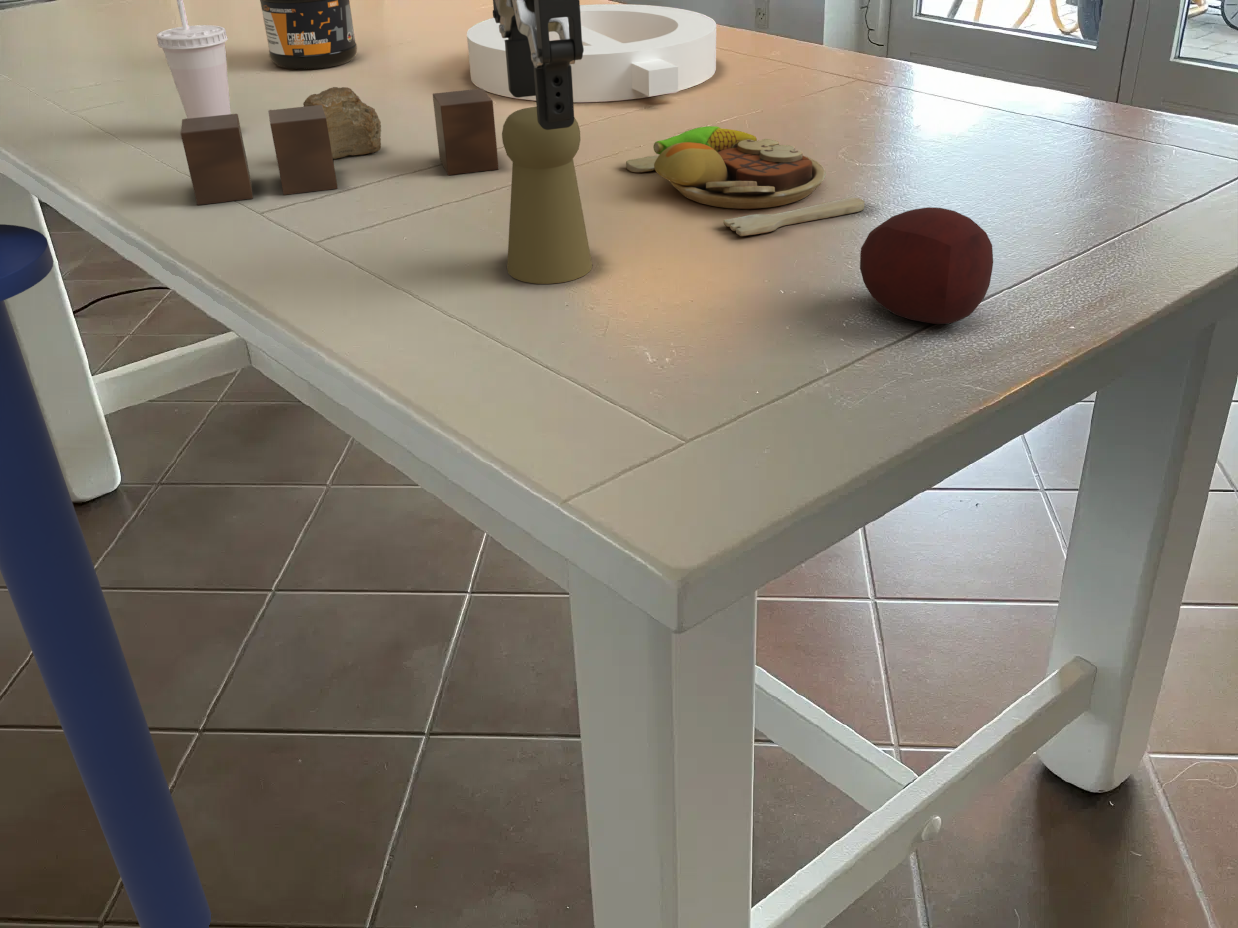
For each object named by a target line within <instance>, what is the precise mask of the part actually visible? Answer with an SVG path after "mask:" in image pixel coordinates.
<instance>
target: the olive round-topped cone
mask: <svg viewBox="0 0 1238 928" xmlns="http://www.w3.org/2000/svg"><path fill="white" fill-rule="evenodd" d="M501 141H502V145H503V148H504V150H505V153H506V156H507V157H508V158H509V159H510V161H511V162H512V164H511V165H512V166H511V167H512V168H511V170H512V171H511V185H510V186H511V187H510V202H509V203H510V204H509V207H510V208H509V223H508V224H509V225H508V226H509V227H508V241H507V242H508V244H507V246H508V247H507V260H506V262H507V265H506V270H507V273H508V275H509V276H511V277H512V278H513V279H515V280H519V281H521V282H524V283H529V284H536V285H537V284H539V285H541V284H543V285H553V284H560V283H567V282H570V281H575V280H577V279H579V278H582V277H584V276H586V275H587V274H588V273H590V272H591V270H592V267H593V261H592V256H591V250H590V245H589V239H588V233H587V227H586V222H585V218H584V212H583V211H584V210H583V206H582V201H581V200H582V199H581V195H580V194H581V193H580V190H579V184H578V178H577V173H576V166H575V162H574V158H575V156H576V155H577V154H578V151H579V149H580V145H581V129H580V125H579V122H578V120H577V119H576V117H575V116H574V123H573V124H572V125H571V126H570V127H567V128H559V129H551V130H545V129H543V128H542V127H541V126H540V125H539V123H538V120H537V106H529V107H525V108H524V107H523V108H521V109H518V110H515V111H513V112H511V113H510V114H509V115H508V116H507V117H506V119H505V121H504V123H503V126H502V132H501Z"/></svg>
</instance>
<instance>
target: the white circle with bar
mask: <svg viewBox="0 0 1238 928" xmlns="http://www.w3.org/2000/svg"><path fill="white" fill-rule="evenodd" d="M580 16H581V32H582V44H583V48H584V52H583V57H582V59H581V60H575V64H570V65H571V69H572V87H573V103H602V102H617V101H627V100H636V99H644V98H650V97H656V96H662V95H669V94H676V93H678V92H679V91H683V90H686V89H690V88H693V87H695V86H698V85H700V84H702V83H704V82H707V81H708V80H709V79H711V78H712V77H713V76H714V75H715V73H716V69H717V22H716V21H715V20H714V19H713V18H712V17H710V16H708V15H706V14H703V13H700V12H697V11H693V10H689V9H683V8H677V7H671V6H663V5H662V6H661V5H649V4H630V3H626V4H625V3H617V4H616V3H609V4H608V3H601V4H600V3H595V4H580ZM499 25H500V23H496V21H495V18H493V17H490V18H488V19H484V20H482V21H479V22H477V23H475V24H474V25H472V26H470V28H468V30H467V31H466V41H467V51H468V52H467V53H468V63H469V72H470V81H471V83H472V84H474V86H476V87H477V88H478V89H483V90H484V91H485V92H488V93H491V94H494V95H497V96H502V97H507V98H513V99H517V100H518V99H519V100H524V101H525V100H527V101H534V102H536V96H528V97H519V98H517V97H514V96H513V95H512V94H511V93H510V91H509V86H508V74H507V62H506V51H505V40H508V38H502V36H501V33H500V32H499ZM552 40H560V37H559V34H558V33H557V32H554V31H553V32H549V41H552Z"/></svg>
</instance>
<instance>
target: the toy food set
mask: <svg viewBox="0 0 1238 928" xmlns="http://www.w3.org/2000/svg"><path fill="white" fill-rule="evenodd" d="M653 152H654V153H655V154H656V155H651V156H644V157H638V158H632V159H628V160H625V168H626V170H628V171H629V172H632V173H647V172H652V171H655V172H656V173H657V174H658V175H659V176H660V177H662V178H663V179H665V180H667V181H669V182H670V184H671V186H673V187H674V188H675V189H676V190H677V191H678V192H679V193H680V194H681V195H683V196H684V197H685V198H687V199H689V200H691V201H693V202H696V203H699V204H702V205H705V206H710V207H717V208H724V209H737V210H738V209H739V210H754V209H768V208H775V207H780V206H785V205H789V204H792V203H796V202H798V201H801V200H803V199H805V198H806V197H809V195H811V194H812V193H813V191H814V190H816V189H817V188H818V187H819V186H821V185H822V183H823V182H824V180H825V179H826V176H827V171H826V170H825V167H824V166H823V165H822V164H821V163H820V162H818V161H817V160H815V159H813V158H811V157H808V156H806V155H804V153H803V151H802V150H796V146H794V145H790V144H780V142H779V141H777V140H775V139H772V138H763V139H759V140H758V139H757V137H756V136H755V135H754V134H750V133H748V132H745V131H741V130H736V129H732V128H731V129H730V128H721V126H716V125H715V126H714V125H708V126H700V127H695V128H692V129H689V130H686V131H683V132H681V133H679V134H677V135H674V136H671V137H668V138H665V139H661V140H657V141H655V142H654V143H653ZM865 204H866V203H865V201H864V200H863V199H862V198H859V197H847V198H841V199H835V200H832V201H828V202H822V203H818V204H815V205H814V204H813V205H810V206H805V207H801V208H797V209H793V210H788V211H787V210H786V211H782V212H778V213H771V214H768V213H767V214H765V213H764V214H763V213H755V214H754V213H753V214H749V215H744V216H738V217H733V218H727V219H724V220H722V221H723V225H724V226H726V227H728V228H729V229H730V230H731V231H733V232H735V233H736V234H737V235H738V236H740V237H747V236H753V235H754V236H755V235H759V234H766V233H770V232H775V230H777V229H778V228H780V227H784V226H789V225H794V224H795V225H796V224H800V223H805V222H810V221H817V220H821V219H822V220H823V219H828V218H833V217H838V216H844V215H849V214H853V213H858V212H861V211H864V210H865Z"/></svg>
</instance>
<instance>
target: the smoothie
mask: <svg viewBox="0 0 1238 928" xmlns="http://www.w3.org/2000/svg"><path fill="white" fill-rule="evenodd" d="M176 3H177V9H178V12H179V13H178V14H179V17H180V22H181V26H177V27H172V28H167V29H165V30H162V31H159V32H158V33H157V34H156V41H157V46H158V47H159V48H161V49H162V52H163V54H164V57H165V59H166V63H167V65H168V68H169V71H170V73H171V76H172V79H173V82H174V85H175V88H176V91H177V93H178V96H179V99H180V102H181V105H182V108H183V111H184V113H185V116H186V119H189V118H199V117H209V116H219V115H228V114H232V113H231V111H232V110H231V100H230V89H229V87H230V86H229V76H228V62H227V50H226V42H227V41H228V40H229V37H228V36H227V29H226V28H225V27H224V26H220V25H213V24H198V25H197V24H196V25H195V24H194V25H189V21H188V17H187V13H186V9H185V3H184V0H176Z"/></svg>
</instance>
